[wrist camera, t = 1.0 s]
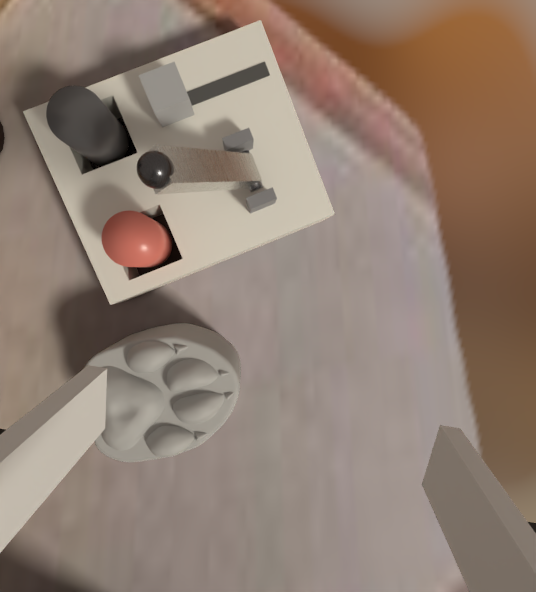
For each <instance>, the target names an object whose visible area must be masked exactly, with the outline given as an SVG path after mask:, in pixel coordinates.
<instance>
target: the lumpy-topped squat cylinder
mask: <svg viewBox="0 0 536 592" xmlns="http://www.w3.org/2000/svg"><path fill="white" fill-rule="evenodd" d="M88 365H90V366H96V367H102V368H107V389H106V420H105V429H104V430H103V432H102V433H101V434H100V435H99V436H98V438H97V439H96V440H95V441H94V442H95V444H96V446H97V448H98V449H99V450H100V451H101V452H102V453H103V454H104V455H106V456H108V457H110V458H112V459H114V460H118V461H122V462H139V461H146V460H154V459H159V458H164V457H172V456H176V455H178V454H180V453H182V452H185V451H188V450H191V449H193V448H195V447H198V446H199V445H201V444H202V443H203V442H205V441H206V440H207V439H208V438H210V437H211V436H212V435H213V434H214V433H215V432H216V431H217V430H218V429H219V428H220V427H221V426H222V425H223V424H224V423H225V422H226V421H227V419H228V418H229V416H230V414H231V413H232V411H233V409H234V407H235V404H236V402H237V399H238V396H239V390H240V374H241V363H240V358H239V355H238V353H237V351H236V349H235V348H234V347H233V346H232V344H231V343H230V342H228V341H227V340H226V339H225V338H224V337H222V336H221V335H219V334H218V333H216V332H214V331H212V330H209V329H206V328H203V327H200V326H197V325H193V324H189V323H177V324H170V325H164V326H159V327H154V328H150V329H147V330H144V331H141V332H137V333H134V334H132V335H129V336H127V337H125V338H124V339H122V340H120V341H118V342H117V343H115V344H113V345H111V346H110V347H108V348H106V349H105V350H103V351H101V352H99V353H98V354H96V355H95V356H93V357H92V358H91V359H90V360H89V361H88V363H87V364H86V365H85V367H87V366H88ZM85 367H84V368H85Z"/></svg>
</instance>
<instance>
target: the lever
mask: <svg viewBox="0 0 536 592" xmlns="http://www.w3.org/2000/svg"><path fill="white" fill-rule="evenodd" d="M137 174H138V177H139V178H140V180H141V181H142V182H143V183H144V184H145V185H146V186H148V187H150V188H153V190H154V192H155V194H171V193H187V192H203V191H220V190H236V189H248V188H249V190H250V192H254V191H257V190H259V189H261V188H263V185H262V182H261V181H262V179H261V176H260V173H259V171H258V168H257V166H256V163H255V161H254V158H253V156H252V154H250V152H249V150H245V151H242V152H229V151H219V150H208V149H197V148H187V147H176V146H166V145H155V146H154V147H152V148H151V149H150V150H149V151H147V152H146V153H144V154H143V155H142V156H141V157H140V158H139V160H138V162H137Z"/></svg>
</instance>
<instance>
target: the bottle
mask: <svg viewBox="0 0 536 592" xmlns="http://www.w3.org/2000/svg"><path fill="white" fill-rule="evenodd" d="M3 144H4V132H3V126H2V124H1V122H0V153H1V151H2V149H3Z"/></svg>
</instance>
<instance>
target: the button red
mask: <svg viewBox="0 0 536 592" xmlns="http://www.w3.org/2000/svg"><path fill="white" fill-rule="evenodd" d="M102 245H103V248H104V250H105V252H106V254H107V255H108V257H109V258H110V259H111V260H113V261H114V262H115V263H117V264H119V265H122V266H126V267H156V266H159V265H161V264H162V263H164V262H165V261H166V260H167V259H168V257H169V256H170V254H171V251H172V238H171V235H170V233H169V231H168V230H167V229H166V228H165V227H164V226H163V225H162V224H160V223H159V222H157V221H155V220H153V219H151V218H149V217H148V216H146V215H144V214H142V213H140V212H137V211H122V212H119V213H117V214H115V215H113V216H112V217H111V218H110V219H109V220H108V221H107V222H106V224H105V225H104V228H103V231H102Z"/></svg>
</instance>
